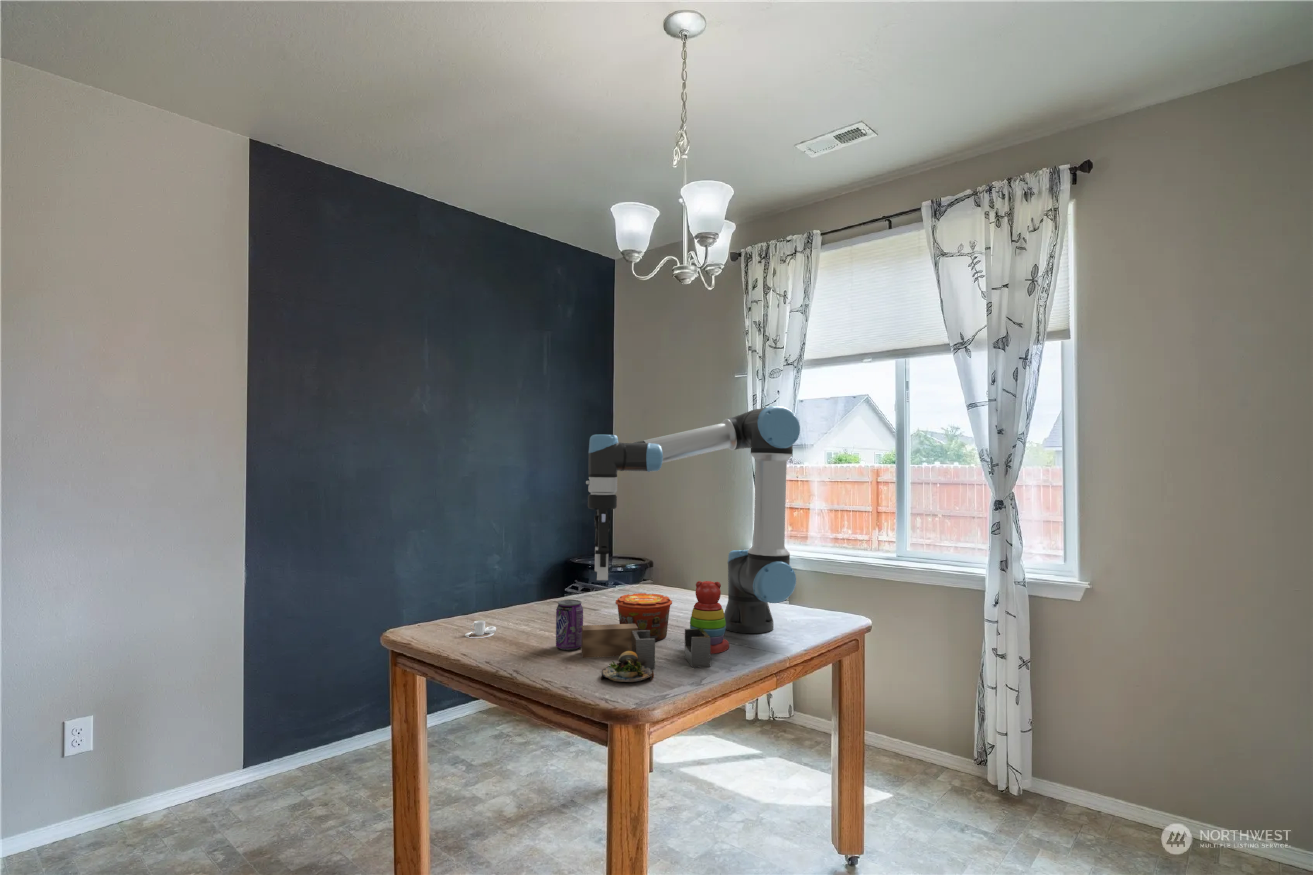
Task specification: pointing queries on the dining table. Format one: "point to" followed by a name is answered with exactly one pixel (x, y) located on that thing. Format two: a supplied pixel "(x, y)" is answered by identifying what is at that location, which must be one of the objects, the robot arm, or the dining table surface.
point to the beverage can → (569, 624)
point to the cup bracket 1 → (644, 647)
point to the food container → (645, 612)
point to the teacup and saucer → (481, 629)
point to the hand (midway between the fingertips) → (601, 575)
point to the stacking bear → (710, 615)
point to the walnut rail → (606, 640)
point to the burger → (627, 669)
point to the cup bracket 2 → (697, 647)
